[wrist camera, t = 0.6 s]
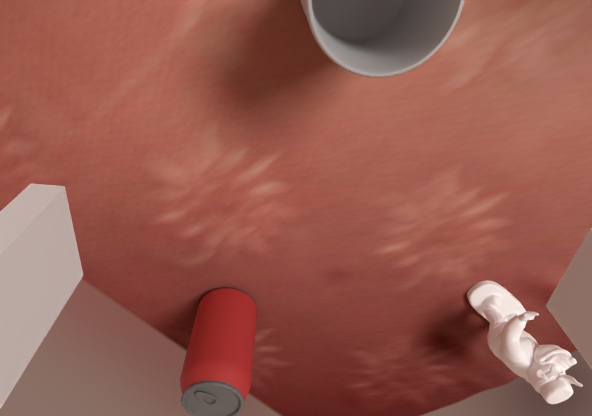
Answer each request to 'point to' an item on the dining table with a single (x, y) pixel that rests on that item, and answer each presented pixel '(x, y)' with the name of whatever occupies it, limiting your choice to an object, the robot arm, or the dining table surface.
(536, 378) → the figurine
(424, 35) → the mug
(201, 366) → the beer can
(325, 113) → the dining table surface
